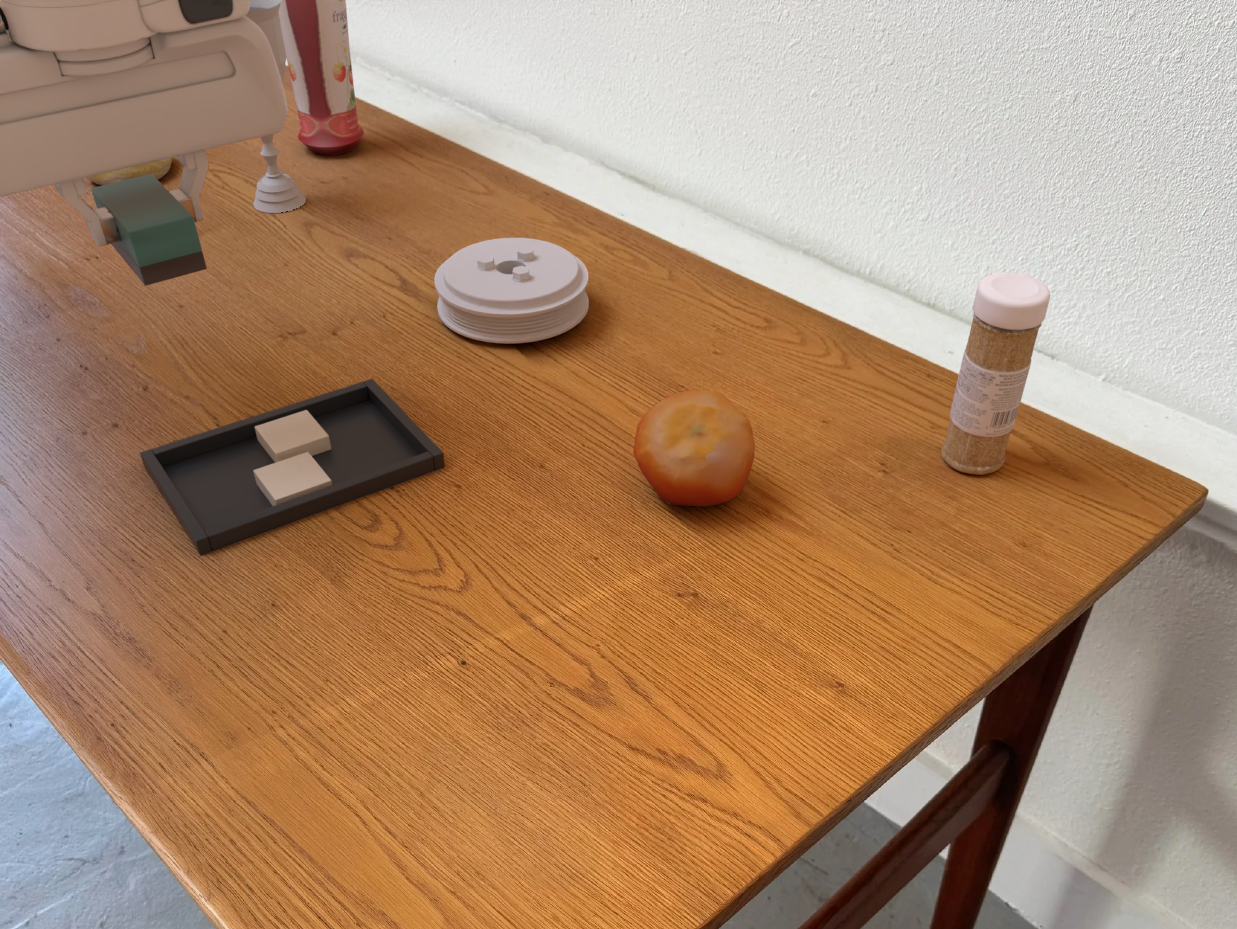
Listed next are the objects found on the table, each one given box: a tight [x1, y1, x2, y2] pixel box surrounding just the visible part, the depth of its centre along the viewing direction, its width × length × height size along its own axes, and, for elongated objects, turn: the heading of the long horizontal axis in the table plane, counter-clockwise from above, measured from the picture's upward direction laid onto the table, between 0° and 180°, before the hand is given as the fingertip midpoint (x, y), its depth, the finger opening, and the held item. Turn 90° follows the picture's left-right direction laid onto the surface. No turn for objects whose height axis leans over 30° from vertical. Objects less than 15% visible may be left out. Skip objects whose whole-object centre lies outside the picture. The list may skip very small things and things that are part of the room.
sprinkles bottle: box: [940, 272, 1051, 476], centre depth 80 cm, size 5×5×14 cm
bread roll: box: [86, 157, 174, 186], centre depth 119 cm, size 8×9×4 cm
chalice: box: [245, 0, 307, 214], centre depth 109 cm, size 7×7×18 cm
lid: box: [433, 237, 590, 344], centre depth 98 cm, size 13×13×5 cm
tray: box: [139, 378, 446, 557], centre depth 82 cm, size 18×12×2 cm, turn 124°
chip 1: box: [255, 410, 331, 463], centre depth 84 cm, size 4×4×1 cm
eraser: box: [90, 174, 208, 287], centre depth 76 cm, size 8×4×4 cm, turn 34°
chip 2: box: [253, 452, 332, 506], centre depth 80 cm, size 4×4×1 cm
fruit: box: [633, 388, 756, 507], centre depth 80 cm, size 8×8×8 cm
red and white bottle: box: [278, 0, 365, 156], centre depth 116 cm, size 7×7×28 cm
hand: (149, 230), depth 76 cm, fingers closed on eraser, 4 cm apart
